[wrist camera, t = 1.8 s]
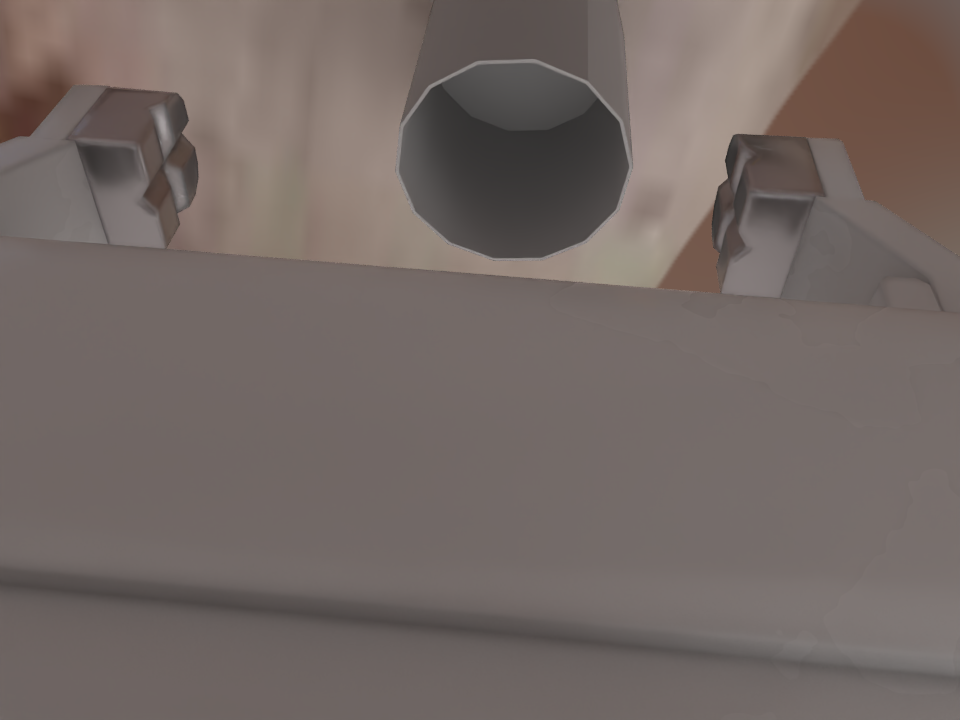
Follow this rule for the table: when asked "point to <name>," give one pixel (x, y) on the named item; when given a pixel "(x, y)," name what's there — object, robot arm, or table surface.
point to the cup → (517, 125)
